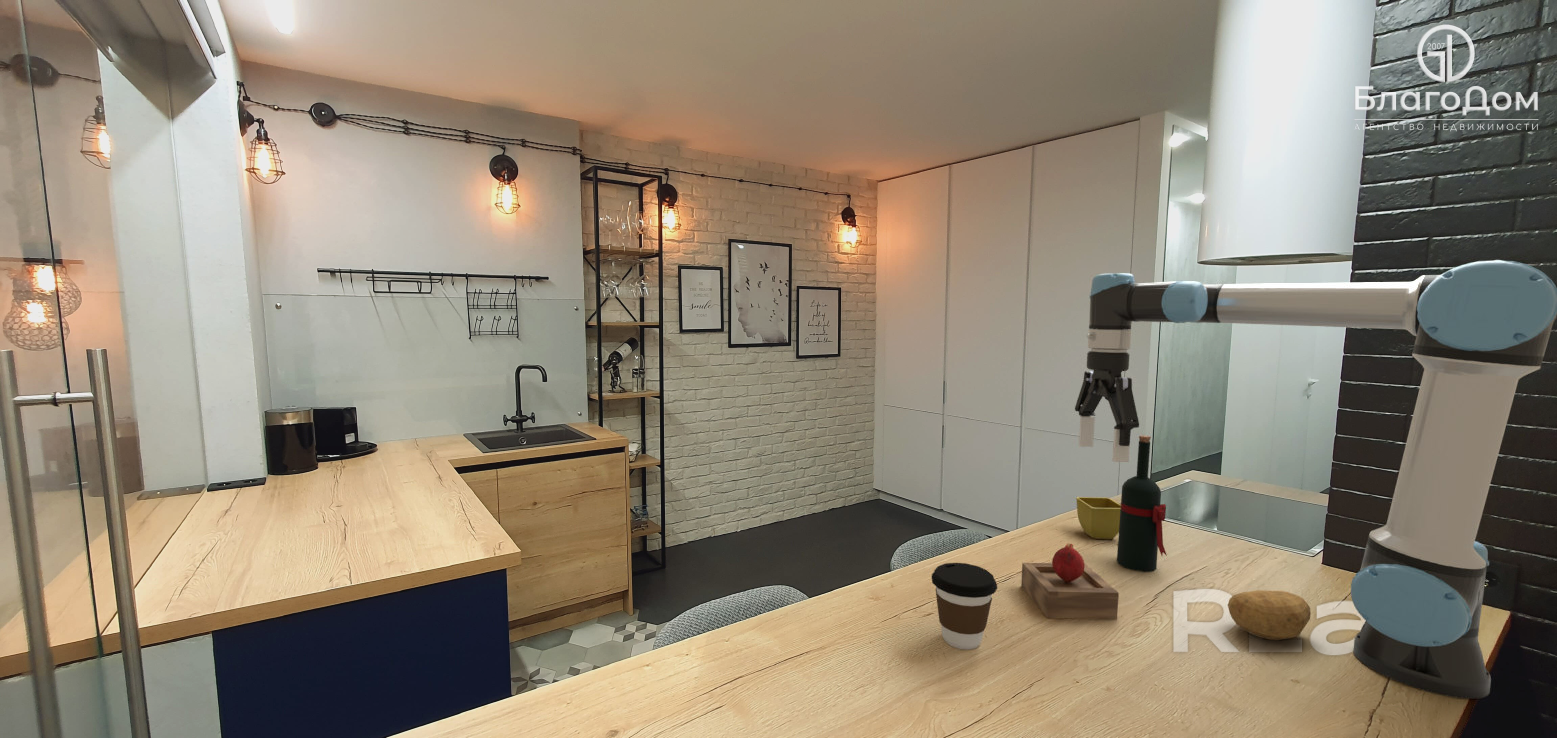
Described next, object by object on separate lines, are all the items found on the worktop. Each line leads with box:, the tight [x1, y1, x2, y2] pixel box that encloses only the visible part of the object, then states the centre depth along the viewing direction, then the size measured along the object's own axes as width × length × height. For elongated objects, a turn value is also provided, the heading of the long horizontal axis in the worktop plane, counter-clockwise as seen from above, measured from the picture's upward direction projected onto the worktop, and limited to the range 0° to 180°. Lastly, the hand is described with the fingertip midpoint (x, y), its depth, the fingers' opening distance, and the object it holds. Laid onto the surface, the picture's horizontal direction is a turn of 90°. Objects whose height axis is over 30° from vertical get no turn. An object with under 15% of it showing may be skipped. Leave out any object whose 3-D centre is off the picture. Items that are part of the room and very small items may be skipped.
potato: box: [1227, 589, 1312, 641], centre depth 107 cm, size 10×14×8 cm
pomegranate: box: [1051, 542, 1085, 583], centre depth 118 cm, size 6×6×8 cm
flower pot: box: [1075, 496, 1121, 540], centre depth 155 cm, size 9×9×9 cm
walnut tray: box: [1020, 562, 1120, 620], centre depth 119 cm, size 13×13×5 cm
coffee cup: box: [931, 562, 998, 650], centre depth 104 cm, size 11×11×12 cm
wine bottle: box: [1116, 435, 1168, 573], centre depth 135 cm, size 8×10×30 cm
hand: (1102, 453), depth 123 cm, fingers open, 13 cm apart
